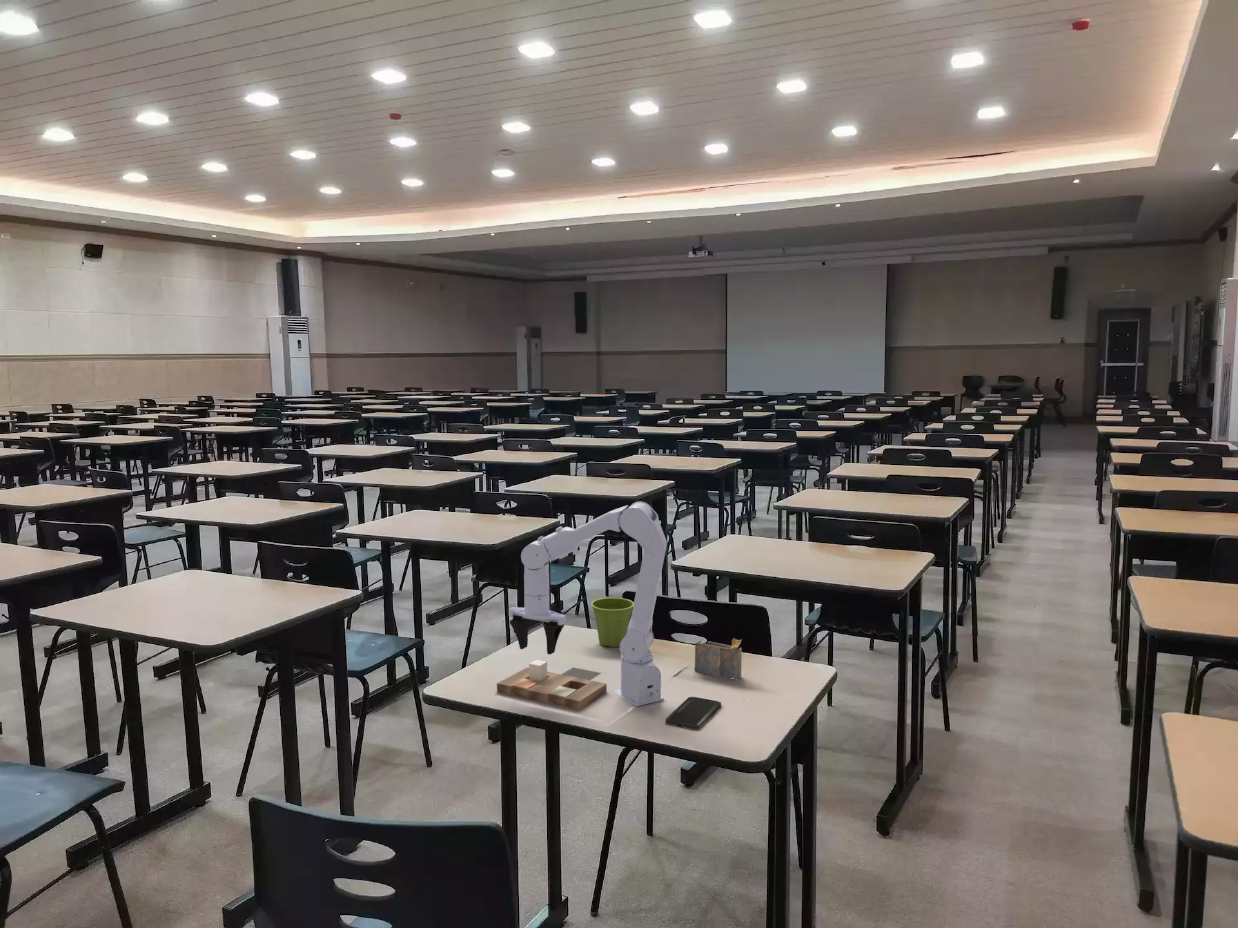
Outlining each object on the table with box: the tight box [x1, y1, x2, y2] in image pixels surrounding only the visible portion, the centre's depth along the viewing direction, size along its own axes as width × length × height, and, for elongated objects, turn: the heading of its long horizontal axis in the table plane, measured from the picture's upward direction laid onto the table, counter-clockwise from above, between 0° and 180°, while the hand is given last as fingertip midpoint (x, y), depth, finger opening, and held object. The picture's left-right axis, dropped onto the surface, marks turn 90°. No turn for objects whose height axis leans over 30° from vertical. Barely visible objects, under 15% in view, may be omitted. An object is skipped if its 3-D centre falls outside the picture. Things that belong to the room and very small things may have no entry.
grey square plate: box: [561, 667, 602, 681], centre depth 203 cm, size 8×8×1 cm
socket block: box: [496, 667, 607, 711], centre depth 192 cm, size 22×12×3 cm, turn 62°
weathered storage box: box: [694, 637, 743, 680], centre depth 206 cm, size 11×3×10 cm, turn 57°
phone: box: [665, 696, 722, 731], centre depth 182 cm, size 8×1×15 cm
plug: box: [528, 659, 548, 682], centre depth 196 cm, size 3×3×6 cm
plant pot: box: [590, 597, 634, 648], centre depth 228 cm, size 12×12×11 cm
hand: (537, 650), depth 195 cm, fingers open, 7 cm apart
